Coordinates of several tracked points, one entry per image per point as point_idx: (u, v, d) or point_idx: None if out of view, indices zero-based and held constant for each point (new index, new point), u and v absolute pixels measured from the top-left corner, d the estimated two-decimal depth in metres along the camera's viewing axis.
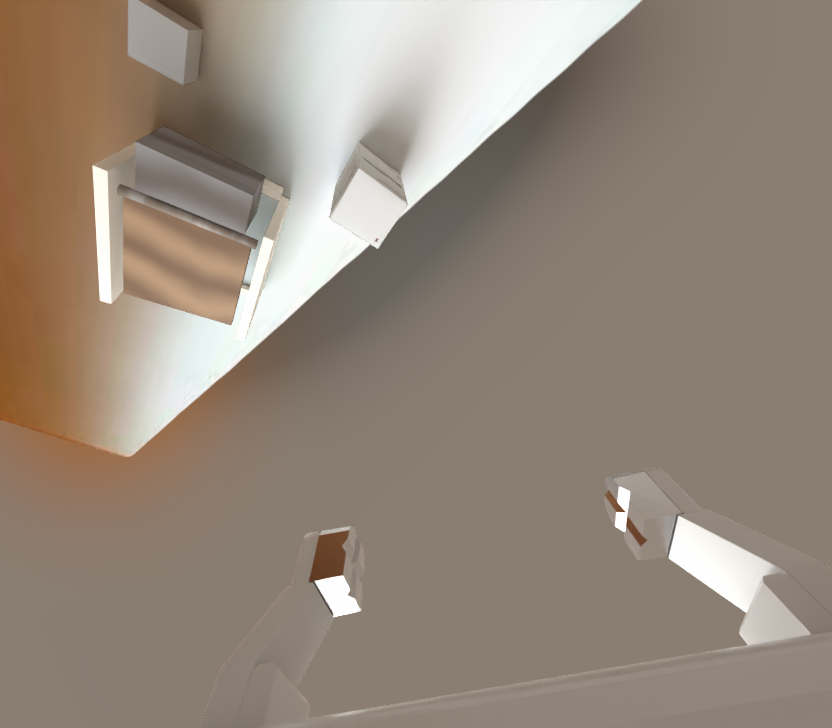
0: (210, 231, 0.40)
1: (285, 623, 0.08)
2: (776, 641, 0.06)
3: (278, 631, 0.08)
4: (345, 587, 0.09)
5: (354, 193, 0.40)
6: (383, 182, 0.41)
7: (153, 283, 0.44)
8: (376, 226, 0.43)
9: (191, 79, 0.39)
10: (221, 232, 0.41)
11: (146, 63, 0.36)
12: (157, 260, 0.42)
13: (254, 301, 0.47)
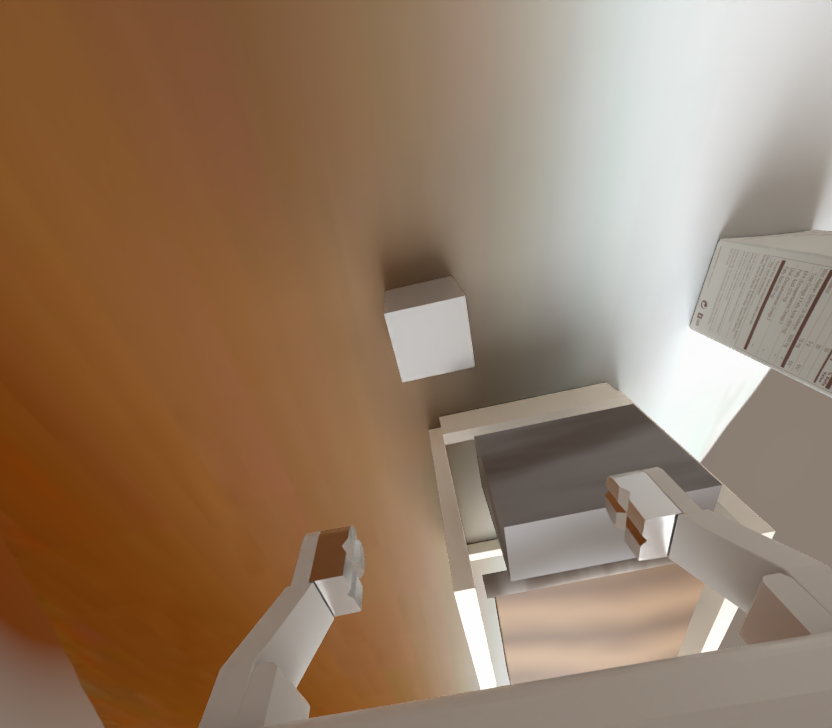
0: (638, 571, 0.20)
1: (285, 623, 0.08)
2: (776, 641, 0.06)
3: (279, 631, 0.08)
4: (345, 587, 0.09)
5: None
6: None
7: (551, 663, 0.25)
8: None
9: None
10: (658, 563, 0.20)
11: (425, 375, 0.23)
12: (554, 639, 0.23)
13: (728, 623, 0.23)
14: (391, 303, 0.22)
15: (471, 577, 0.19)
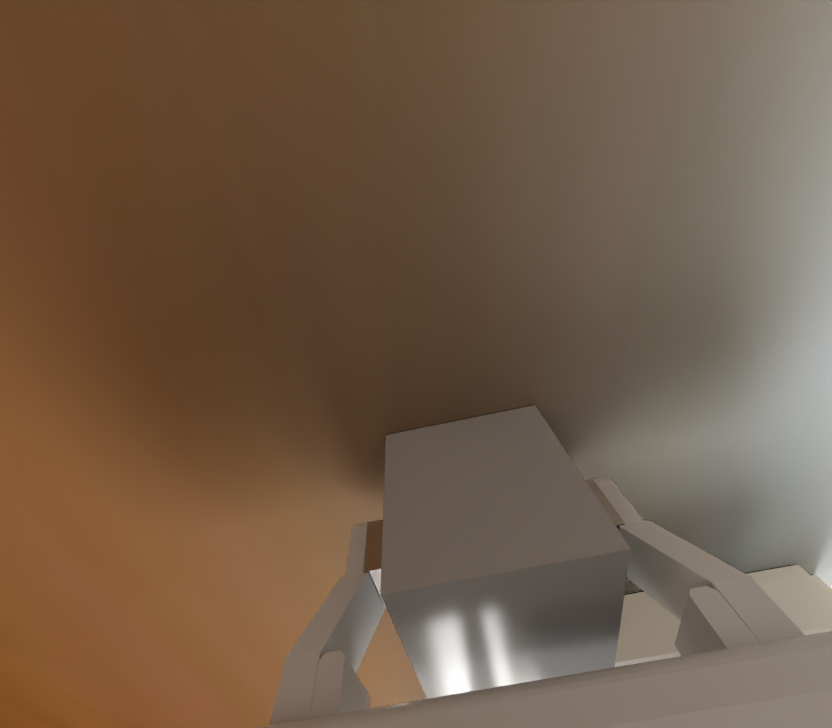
0: None
1: (345, 612, 0.08)
2: (776, 641, 0.06)
3: (340, 620, 0.08)
4: None
5: None
6: None
7: None
8: None
9: None
10: None
11: (486, 686, 0.09)
12: None
13: None
14: (401, 516, 0.08)
15: None
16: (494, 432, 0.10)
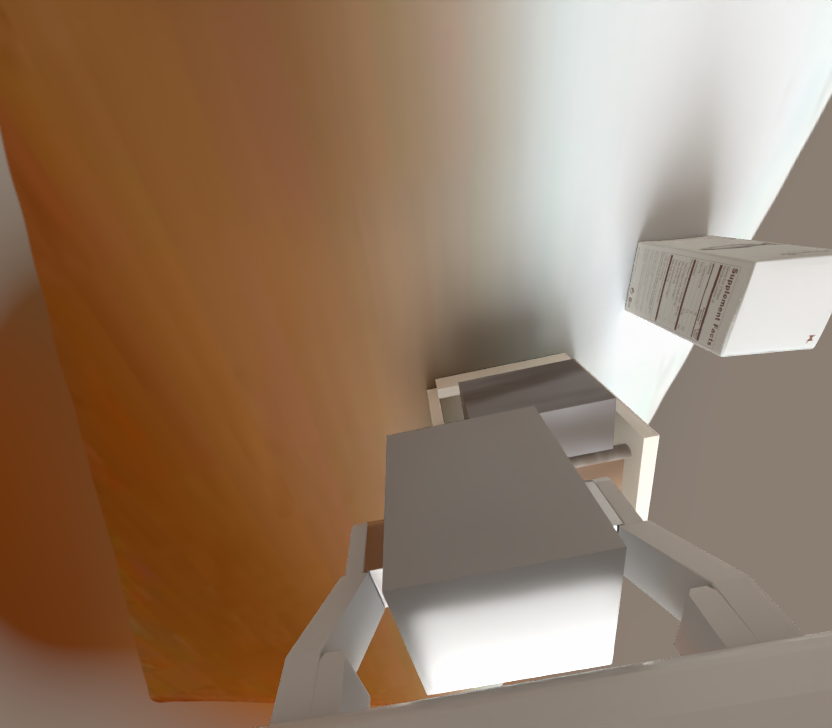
0: None
1: (345, 612, 0.08)
2: (776, 641, 0.06)
3: (340, 620, 0.08)
4: None
5: (757, 299, 0.24)
6: (793, 253, 0.23)
7: None
8: (806, 320, 0.24)
9: None
10: (584, 463, 0.28)
11: (485, 682, 0.09)
12: None
13: (645, 520, 0.31)
14: (402, 515, 0.08)
15: None
16: (493, 432, 0.10)
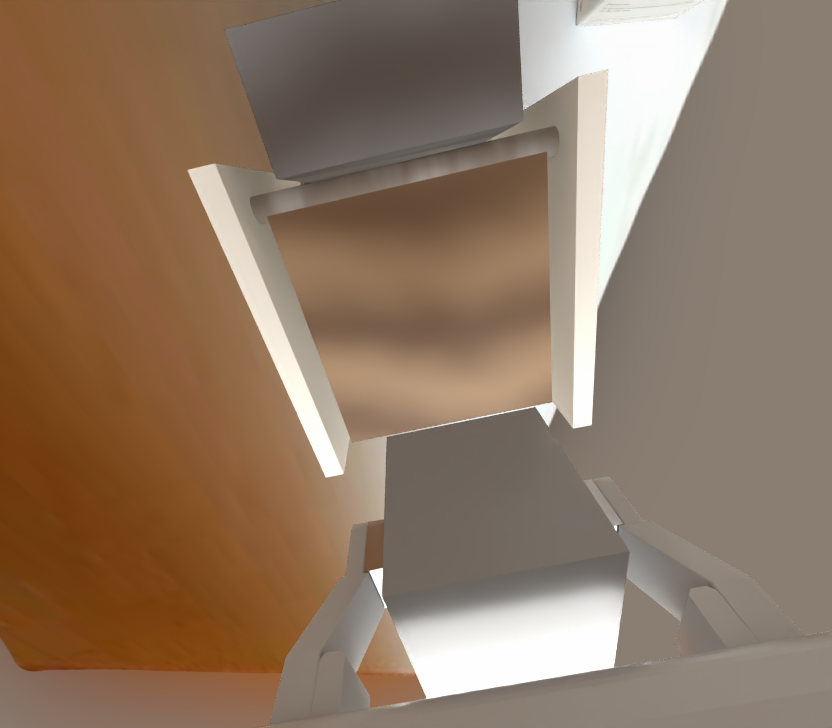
0: (448, 175, 0.15)
1: (345, 612, 0.08)
2: (776, 641, 0.06)
3: (340, 620, 0.08)
4: None
5: None
6: None
7: (388, 391, 0.20)
8: None
9: None
10: (471, 158, 0.15)
11: (486, 686, 0.09)
12: (377, 333, 0.18)
13: (593, 306, 0.18)
14: (402, 518, 0.08)
15: None
16: (494, 434, 0.10)
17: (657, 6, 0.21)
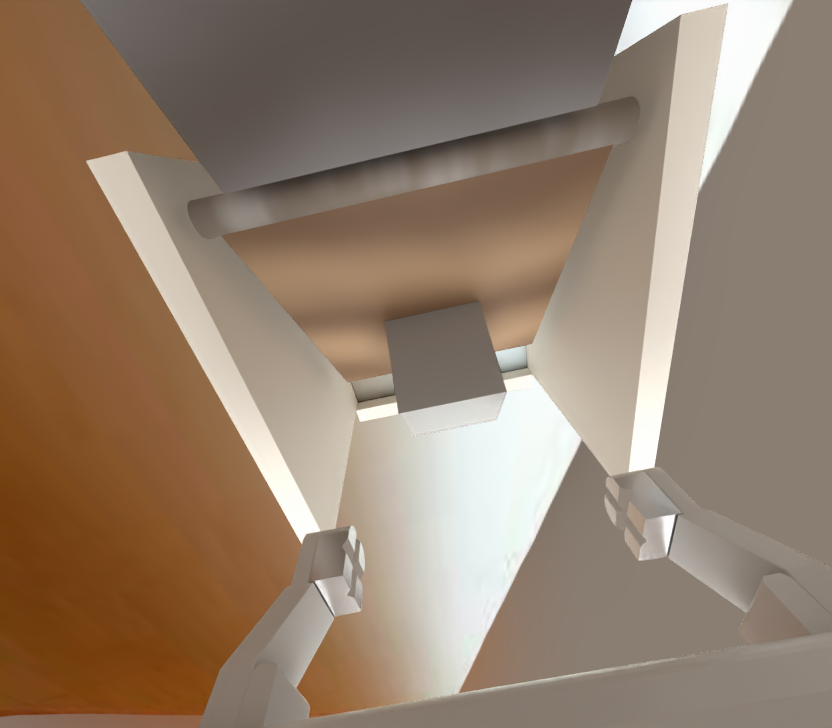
0: (473, 178, 0.11)
1: (285, 623, 0.08)
2: (776, 641, 0.06)
3: (278, 631, 0.08)
4: (345, 587, 0.09)
5: None
6: None
7: (382, 353, 0.21)
8: None
9: None
10: (510, 157, 0.10)
11: (439, 430, 0.20)
12: (371, 320, 0.17)
13: (668, 349, 0.13)
14: (402, 377, 0.16)
15: (138, 154, 0.10)
16: (452, 322, 0.17)
17: None
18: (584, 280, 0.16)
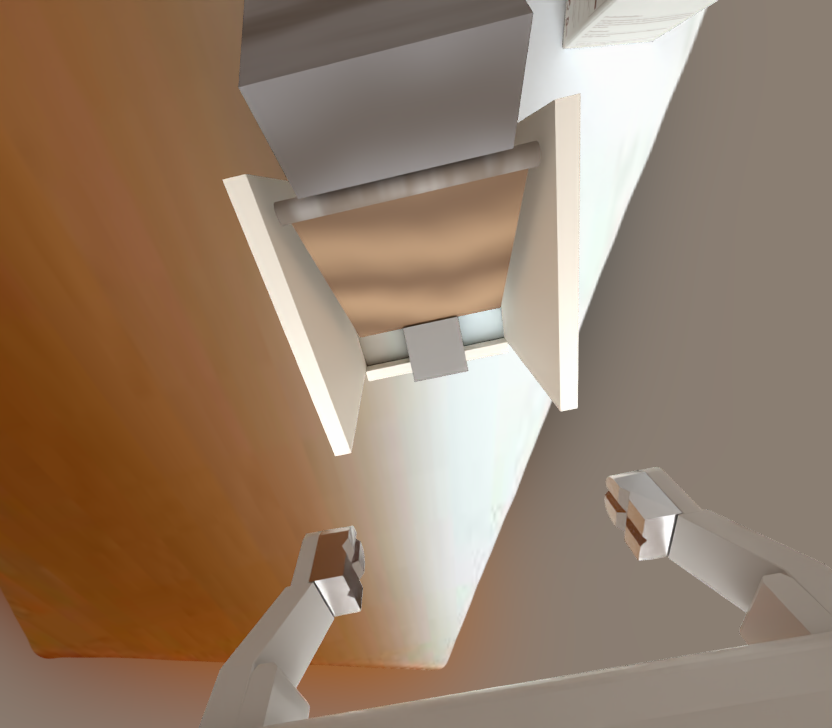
0: (444, 188, 0.18)
1: (285, 623, 0.08)
2: (776, 641, 0.06)
3: (278, 632, 0.08)
4: (345, 587, 0.09)
5: None
6: None
7: (387, 312, 0.28)
8: None
9: None
10: (465, 176, 0.18)
11: None
12: (380, 284, 0.24)
13: (575, 298, 0.20)
14: None
15: (249, 175, 0.17)
16: None
17: (634, 32, 0.24)
18: (529, 257, 0.23)
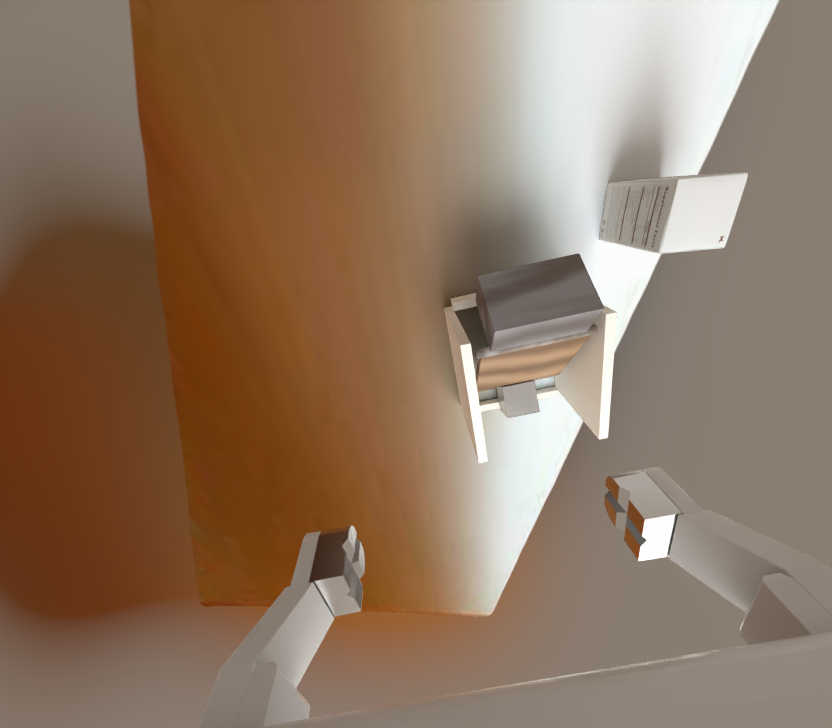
0: (552, 343, 0.39)
1: (285, 623, 0.08)
2: (776, 641, 0.06)
3: (279, 631, 0.08)
4: (345, 587, 0.09)
5: (681, 207, 0.34)
6: (705, 175, 0.34)
7: (498, 381, 0.49)
8: (716, 224, 0.35)
9: None
10: (563, 339, 0.39)
11: None
12: (503, 372, 0.46)
13: (610, 387, 0.42)
14: None
15: (469, 341, 0.38)
16: None
17: None
18: (583, 359, 0.45)
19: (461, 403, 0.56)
